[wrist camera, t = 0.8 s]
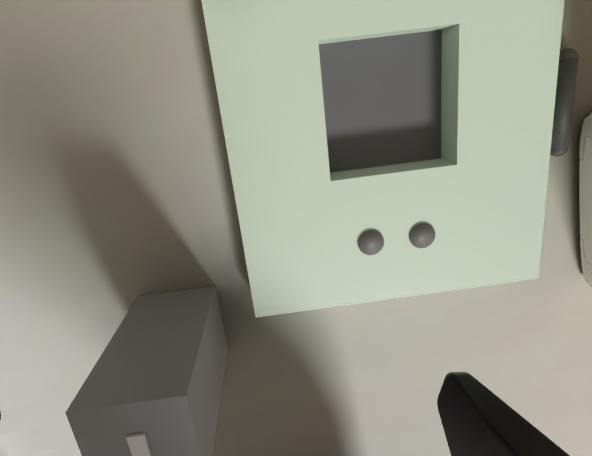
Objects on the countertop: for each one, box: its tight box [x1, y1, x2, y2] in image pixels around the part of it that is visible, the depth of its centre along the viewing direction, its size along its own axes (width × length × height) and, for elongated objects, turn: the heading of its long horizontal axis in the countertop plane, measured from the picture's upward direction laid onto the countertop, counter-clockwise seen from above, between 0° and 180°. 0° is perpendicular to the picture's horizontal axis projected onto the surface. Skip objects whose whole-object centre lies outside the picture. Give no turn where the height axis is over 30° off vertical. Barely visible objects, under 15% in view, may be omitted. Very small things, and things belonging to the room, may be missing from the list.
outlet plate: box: [201, 0, 578, 318], centre depth 18 cm, size 18×16×2 cm
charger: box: [66, 286, 228, 456], centre depth 18 cm, size 4×4×8 cm
